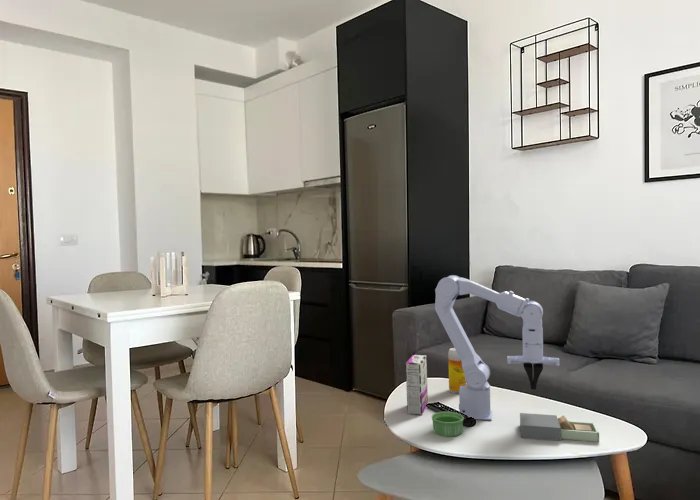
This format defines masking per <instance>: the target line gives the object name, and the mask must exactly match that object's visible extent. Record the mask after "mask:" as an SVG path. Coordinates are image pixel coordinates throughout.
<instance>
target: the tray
mask: <svg viewBox="0 0 700 500" xmlns="http://www.w3.org/2000/svg"><path fill="white" fill-rule="evenodd" d="M568 421H569V423H570V424H571V425H572V427H573V429H574V424H578V425H590V427H591V429H592V432H591V431H577V430H564V429H563V428H562V427H561V426H560V428H561V440H569V441H570V440H571V441H582V442H595V443H600V431H599V430H598V427H597V425H596V424H595V422H588V421H587V422H586V421H573V420H572V421H571V420H568ZM559 425H560V424H559Z"/></svg>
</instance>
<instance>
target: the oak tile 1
mask: <svg viewBox="0 0 700 500" xmlns="http://www.w3.org/2000/svg"><path fill="white" fill-rule="evenodd" d="M557 419H558V422H559V424H560V426H561V427H562V428H563V429H564V430H574V429H573V427H572V425H571V424H570V423H569V421H570V420H568V419H567V418H566V416H565V415H562V416H560V417H557Z"/></svg>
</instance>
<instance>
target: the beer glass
mask: <svg viewBox="0 0 700 500" xmlns="http://www.w3.org/2000/svg"><path fill="white" fill-rule="evenodd" d="M447 353H448V389H449V391H450V392H451V393H453V394H459V390H460V386H466V384H467V383H466V381H465V373H464V371H463V368H462V361H461V359H460V357H459V355H458V353H457V351H456V349H455V347H451V348H449V349H448V351H447Z"/></svg>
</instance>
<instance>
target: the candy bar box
mask: <svg viewBox="0 0 700 500" xmlns="http://www.w3.org/2000/svg"><path fill="white" fill-rule="evenodd" d="M427 363H428V362H427V355H425V354H424V355H422V354H412V355H411V357H409V359H408V360H407V361H406V362H405V380H406V381H405V382H406V405H407V406H406V409H407V410H406V412H407V415H414V414H415V415H416V416H419V415H420V416H422V415H423V413H424V412H425V409H426V408H427V406H428V405H427V403H428V404H429V400H428V399H429V397H428V366H427ZM426 405H427V406H426Z"/></svg>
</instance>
